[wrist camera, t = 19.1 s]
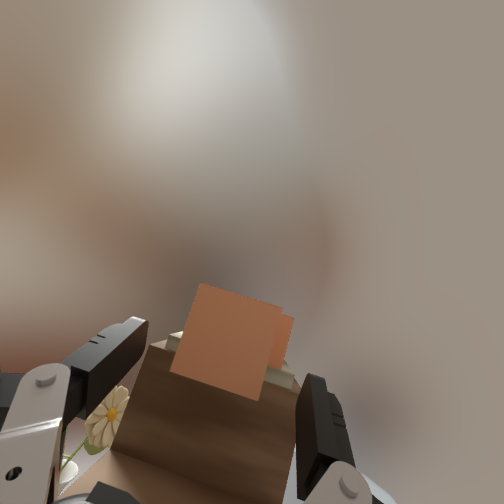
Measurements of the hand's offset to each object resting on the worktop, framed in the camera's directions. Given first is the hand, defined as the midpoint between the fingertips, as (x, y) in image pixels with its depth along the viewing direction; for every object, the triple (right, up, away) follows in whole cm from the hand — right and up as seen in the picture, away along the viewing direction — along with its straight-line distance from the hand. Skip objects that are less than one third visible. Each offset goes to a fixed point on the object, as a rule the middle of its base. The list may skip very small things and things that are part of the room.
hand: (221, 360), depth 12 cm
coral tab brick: (0, -3, +8) cm, 8 cm away
